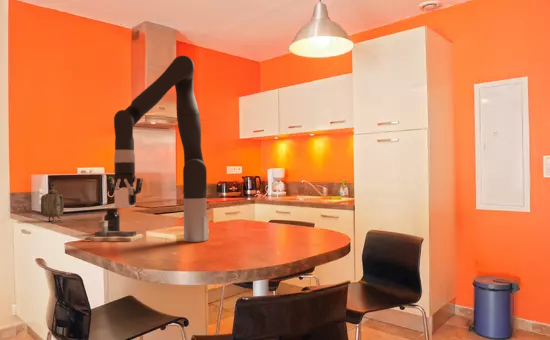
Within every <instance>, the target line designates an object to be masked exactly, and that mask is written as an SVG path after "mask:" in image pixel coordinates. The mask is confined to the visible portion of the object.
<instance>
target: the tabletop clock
mask: <svg viewBox="0 0 550 340" xmlns="http://www.w3.org/2000/svg"><path fill="white" fill-rule="evenodd" d="M52 185H54V186H52ZM50 188H51V189H50V190H49V191H48V193H45V194H43V195H42V196H41V197H40V214H41V216H43V217H45V218H46V217H48V219H47V220H50V221H51V218H52V222H53V221H54V220H55V217H57V219H61V220H62V218H61V216H63V214H64V211H65V210H64V207H65V202H64V194H63V193H61V192H60V193H59V192H58V191H57V189H55V188H56V184H55V182H54V181H52V182H50Z"/></svg>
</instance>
